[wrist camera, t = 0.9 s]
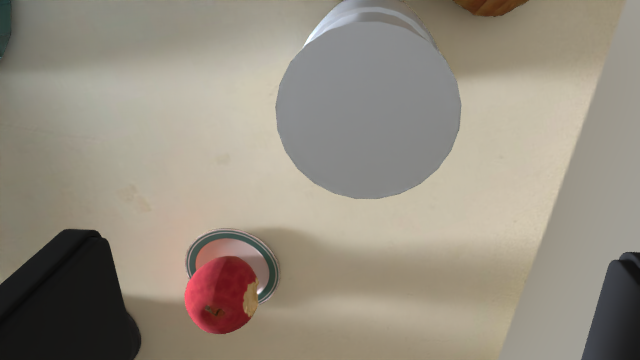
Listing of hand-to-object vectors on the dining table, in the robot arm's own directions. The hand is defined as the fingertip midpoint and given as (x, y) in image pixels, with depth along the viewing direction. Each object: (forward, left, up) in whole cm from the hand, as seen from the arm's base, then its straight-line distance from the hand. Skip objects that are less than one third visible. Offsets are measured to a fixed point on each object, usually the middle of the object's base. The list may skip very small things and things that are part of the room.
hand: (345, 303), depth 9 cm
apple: (+17, -11, -25) cm, 32 cm away
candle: (-1, 0, -25) cm, 25 cm away
